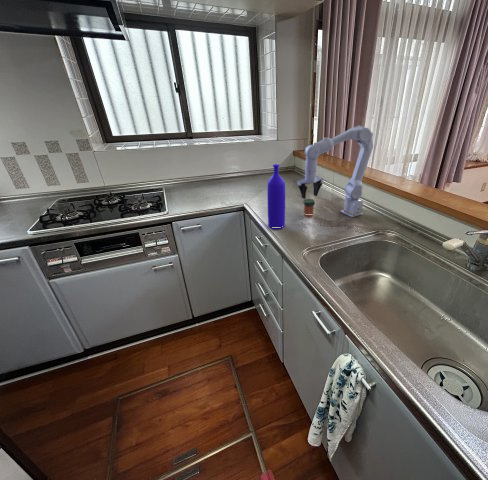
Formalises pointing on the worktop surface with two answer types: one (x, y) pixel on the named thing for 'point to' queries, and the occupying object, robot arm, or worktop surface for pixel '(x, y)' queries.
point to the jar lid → (309, 202)
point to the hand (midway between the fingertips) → (309, 196)
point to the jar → (308, 210)
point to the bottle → (276, 200)
